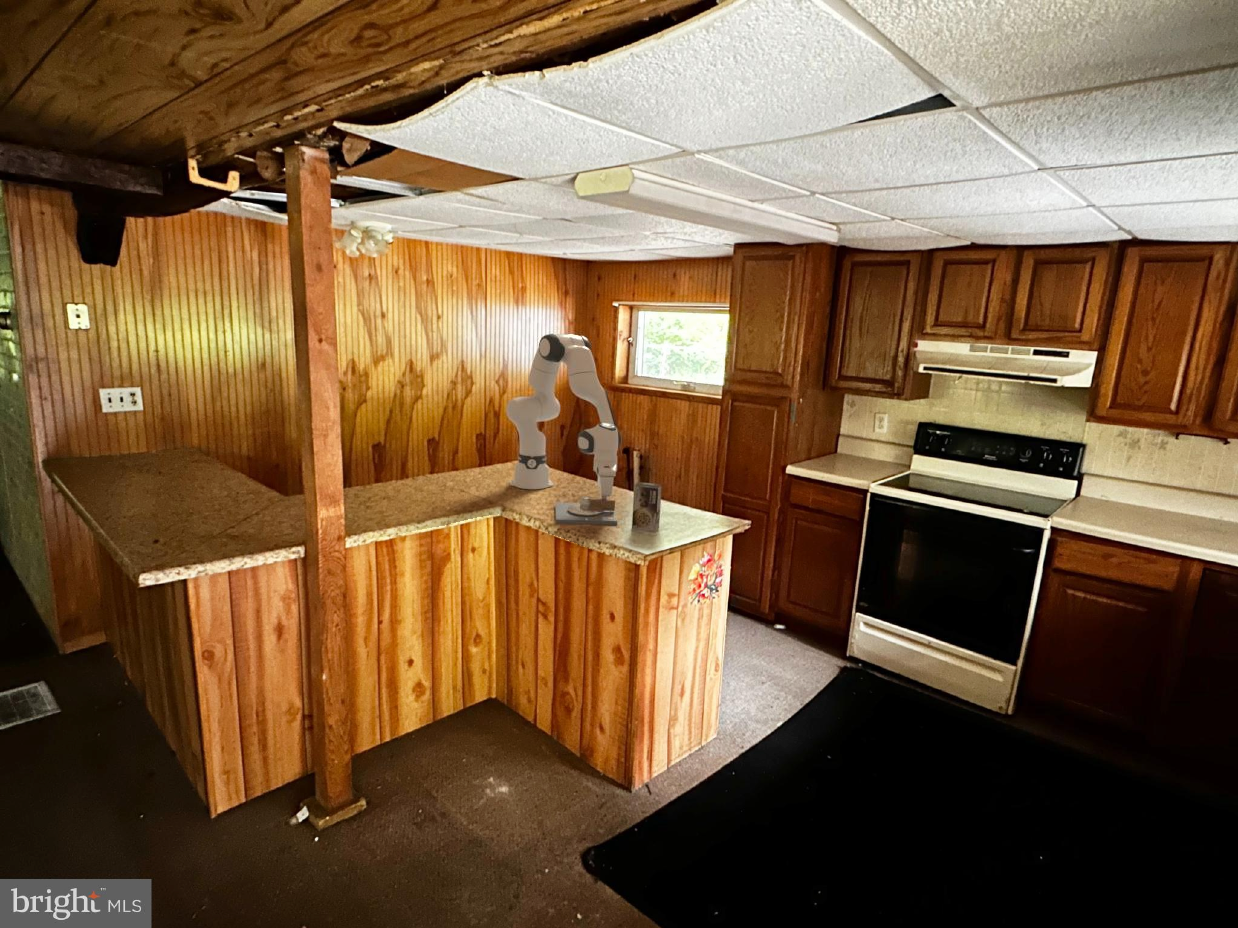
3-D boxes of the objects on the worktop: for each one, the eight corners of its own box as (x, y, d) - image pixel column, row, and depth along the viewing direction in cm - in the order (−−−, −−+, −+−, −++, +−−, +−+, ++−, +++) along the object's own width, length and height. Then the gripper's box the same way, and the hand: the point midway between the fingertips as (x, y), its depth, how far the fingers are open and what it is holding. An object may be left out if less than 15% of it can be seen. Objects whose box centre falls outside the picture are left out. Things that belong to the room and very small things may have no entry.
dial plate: (555, 506, 256) (555, 502, 255) (611, 507, 258) (611, 503, 258) (555, 523, 234) (556, 519, 234) (617, 525, 237) (617, 520, 236)
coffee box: (659, 527, 237) (662, 484, 234) (655, 532, 231) (659, 488, 228) (635, 524, 239) (638, 481, 236) (630, 529, 233) (633, 485, 230)
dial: (568, 515, 239) (568, 502, 238) (567, 505, 252) (567, 493, 250) (615, 516, 241) (616, 503, 240) (612, 506, 254) (613, 494, 252)
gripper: (595, 460, 257) (593, 494, 260) (599, 472, 237) (597, 508, 240) (610, 460, 258) (609, 494, 261) (616, 472, 238) (614, 509, 241)
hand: (603, 501), depth 251 cm, fingers closed
